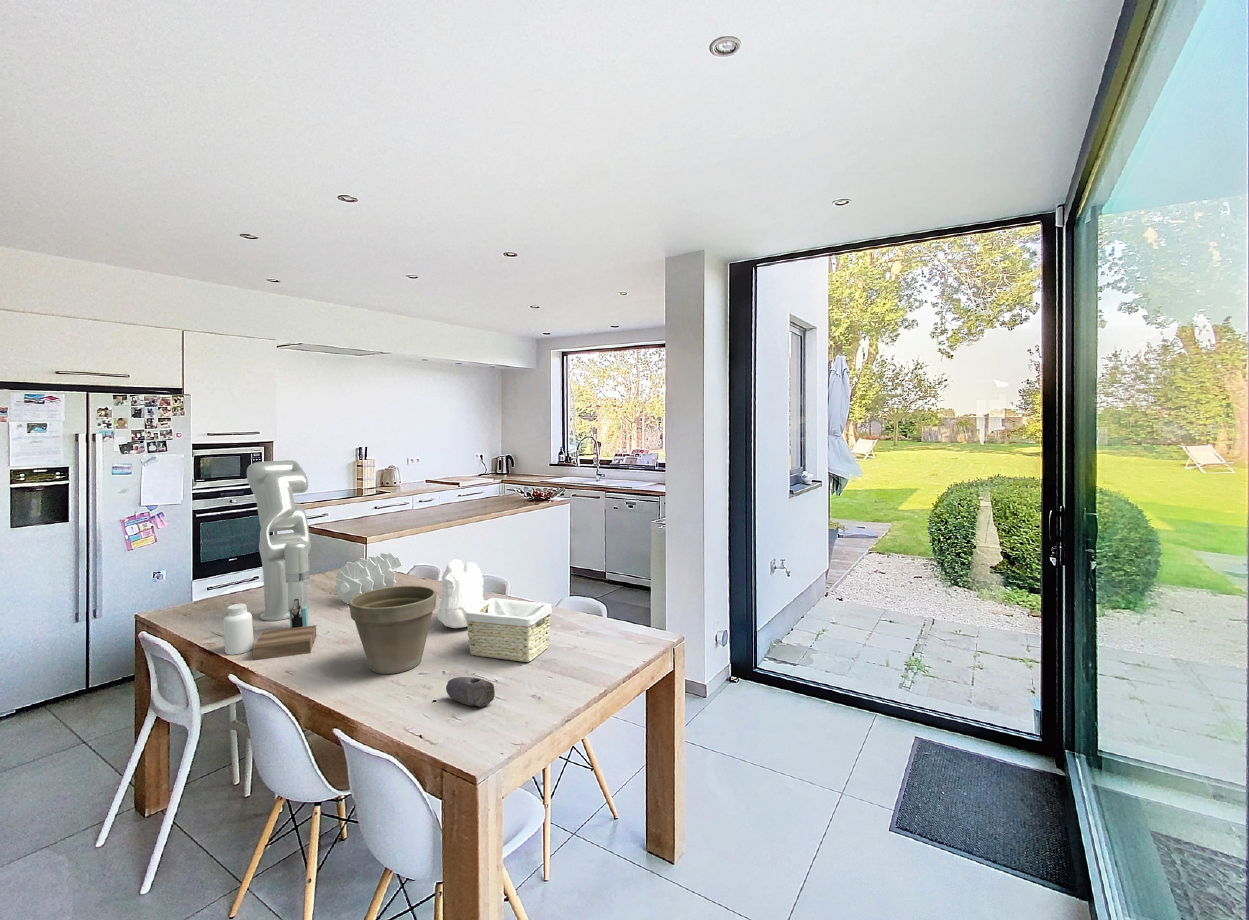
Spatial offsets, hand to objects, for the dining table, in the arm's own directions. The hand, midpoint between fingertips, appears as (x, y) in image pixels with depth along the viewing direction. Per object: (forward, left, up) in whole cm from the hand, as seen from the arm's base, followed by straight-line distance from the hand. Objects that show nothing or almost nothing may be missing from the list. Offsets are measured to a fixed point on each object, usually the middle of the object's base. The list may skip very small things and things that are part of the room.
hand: (299, 624), depth 213 cm
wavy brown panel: (+15, -2, -3) cm, 15 cm away
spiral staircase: (-35, +21, -3) cm, 41 cm away
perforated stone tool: (+77, +50, -3) cm, 92 cm away
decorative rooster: (+12, +57, -3) cm, 58 cm away
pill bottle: (+12, -16, -3) cm, 20 cm away
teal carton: (0, 0, -3) cm, 3 cm away
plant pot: (+43, +32, -3) cm, 54 cm away
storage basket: (+45, +66, -3) cm, 81 cm away
